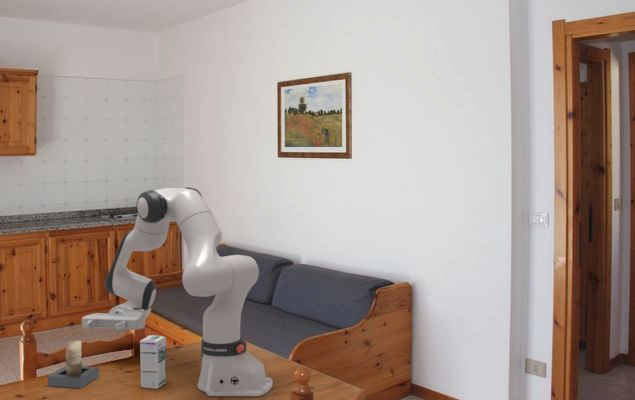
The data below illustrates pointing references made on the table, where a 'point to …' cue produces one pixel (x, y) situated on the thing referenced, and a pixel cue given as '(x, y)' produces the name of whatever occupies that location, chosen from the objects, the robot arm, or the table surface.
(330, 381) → the table surface
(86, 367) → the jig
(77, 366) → the peg
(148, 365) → the syrup box
